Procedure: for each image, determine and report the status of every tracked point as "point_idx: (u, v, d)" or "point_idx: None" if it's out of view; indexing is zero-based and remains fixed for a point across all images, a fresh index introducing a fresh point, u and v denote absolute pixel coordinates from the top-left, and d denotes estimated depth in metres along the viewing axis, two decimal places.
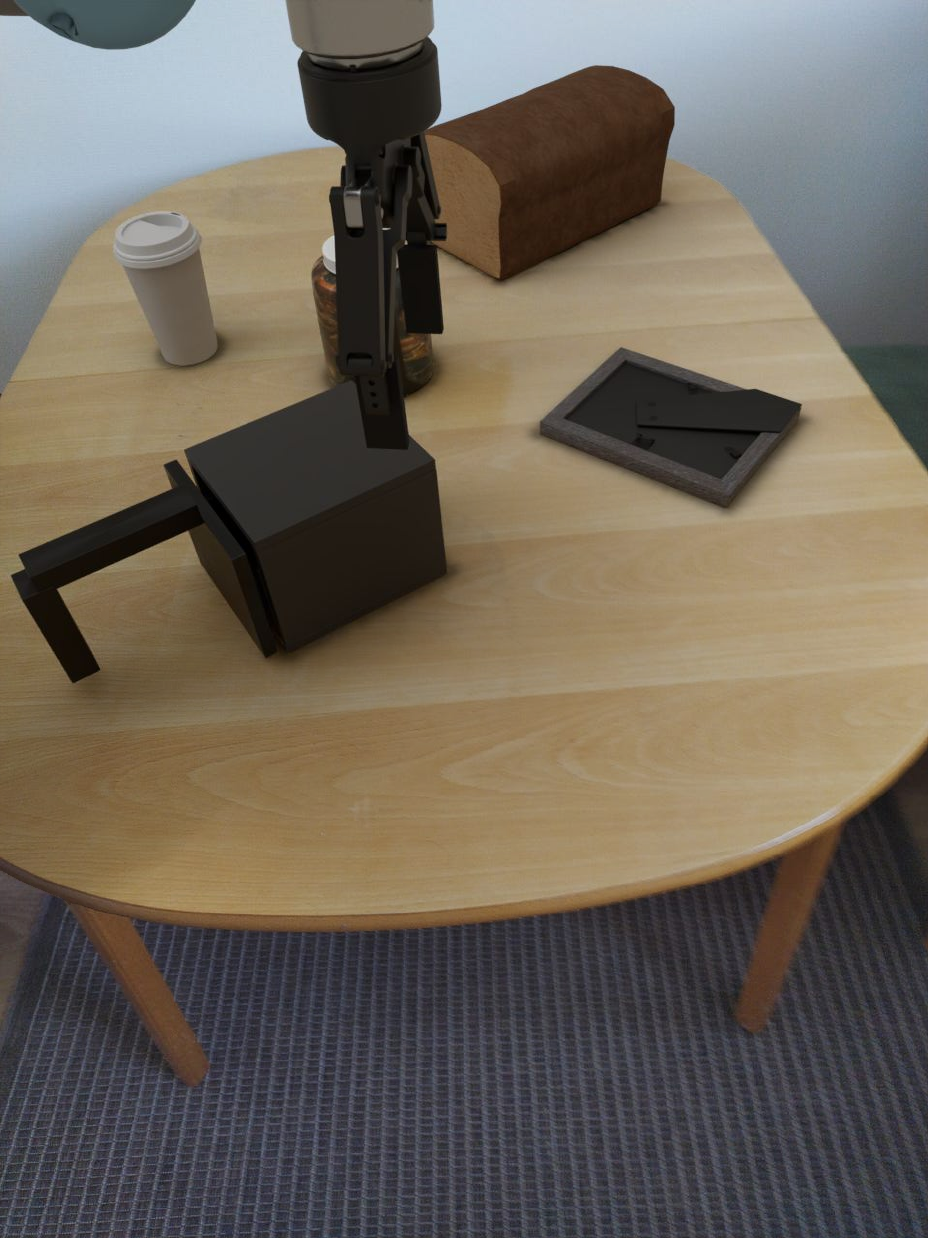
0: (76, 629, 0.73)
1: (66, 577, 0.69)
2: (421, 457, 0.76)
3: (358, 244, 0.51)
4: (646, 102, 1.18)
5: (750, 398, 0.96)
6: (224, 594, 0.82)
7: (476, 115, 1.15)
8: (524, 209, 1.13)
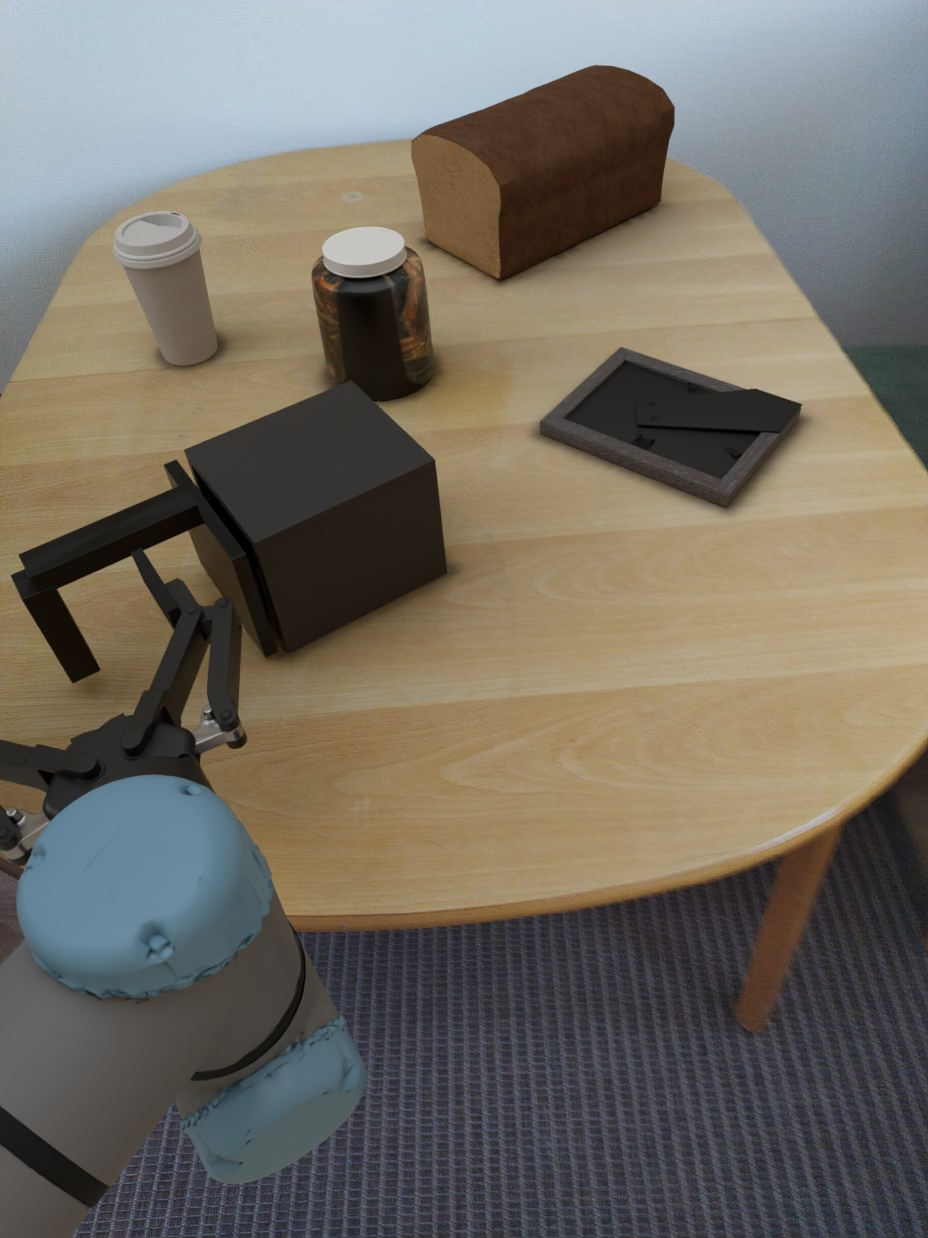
0: (76, 629, 0.73)
1: (66, 577, 0.69)
2: (421, 457, 0.76)
3: None
4: (646, 102, 1.18)
5: (750, 398, 0.96)
6: (224, 594, 0.82)
7: (476, 115, 1.15)
8: (524, 209, 1.13)
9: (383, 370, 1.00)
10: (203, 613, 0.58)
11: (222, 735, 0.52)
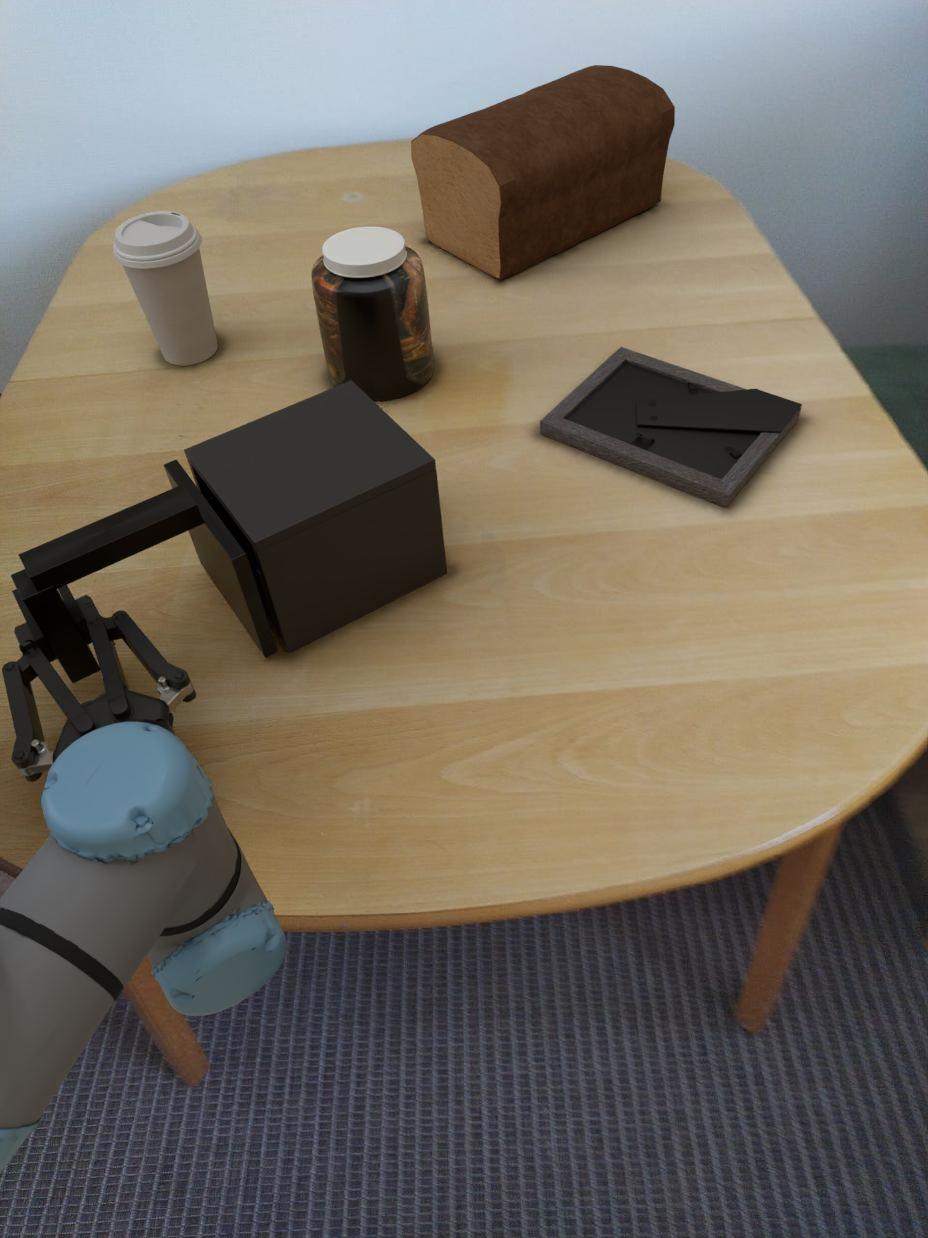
0: (76, 629, 0.73)
1: (66, 577, 0.69)
2: (421, 457, 0.76)
3: None
4: (646, 102, 1.18)
5: (750, 398, 0.96)
6: (224, 594, 0.82)
7: (476, 115, 1.15)
8: (524, 209, 1.13)
9: (383, 370, 1.00)
10: (103, 620, 0.74)
11: (182, 692, 0.69)
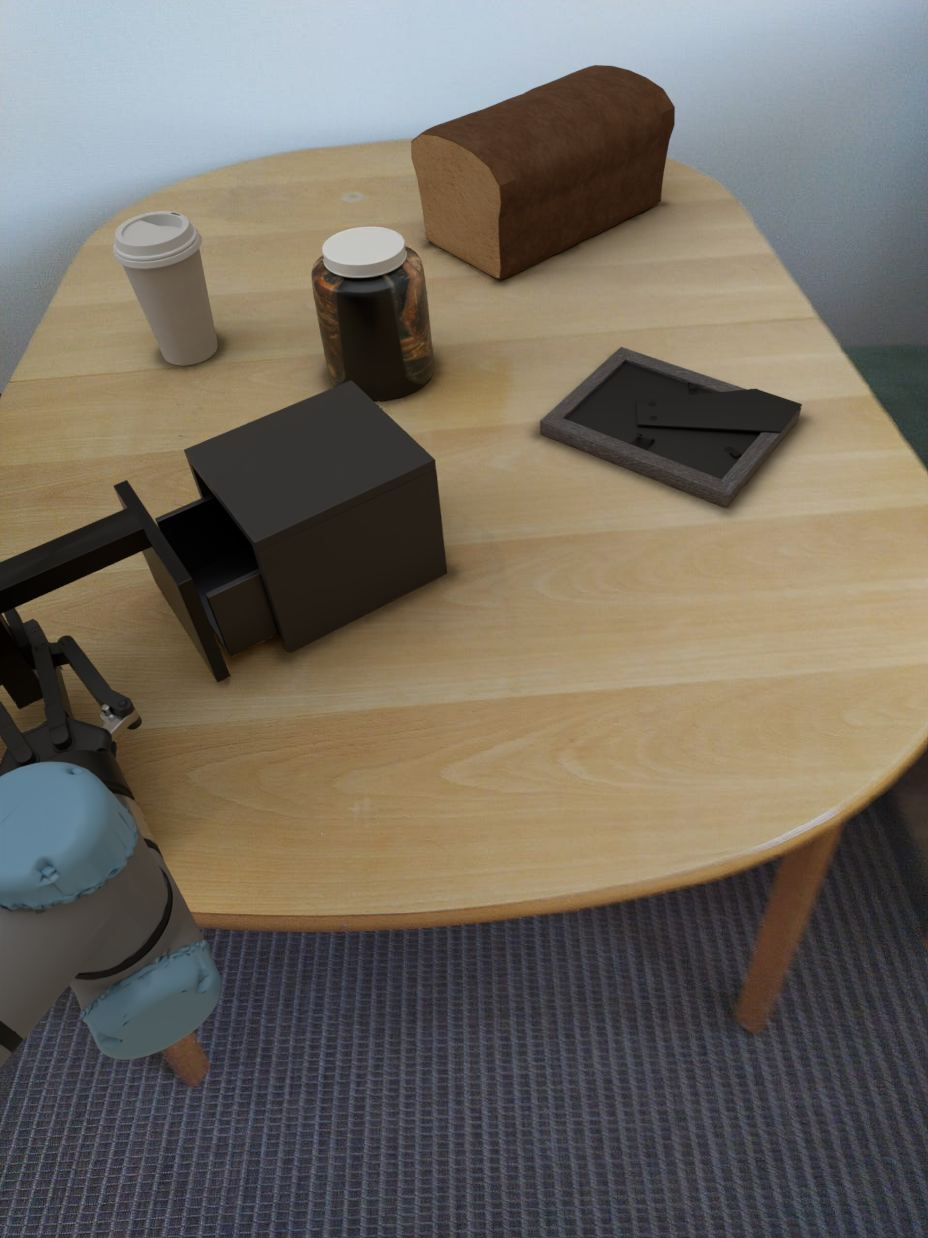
0: (20, 655, 0.71)
1: (8, 603, 0.68)
2: (421, 457, 0.76)
3: None
4: (646, 102, 1.18)
5: (750, 398, 0.96)
6: (178, 616, 0.81)
7: (476, 115, 1.15)
8: (524, 209, 1.13)
9: (383, 370, 1.00)
10: (48, 645, 0.72)
11: (125, 720, 0.68)
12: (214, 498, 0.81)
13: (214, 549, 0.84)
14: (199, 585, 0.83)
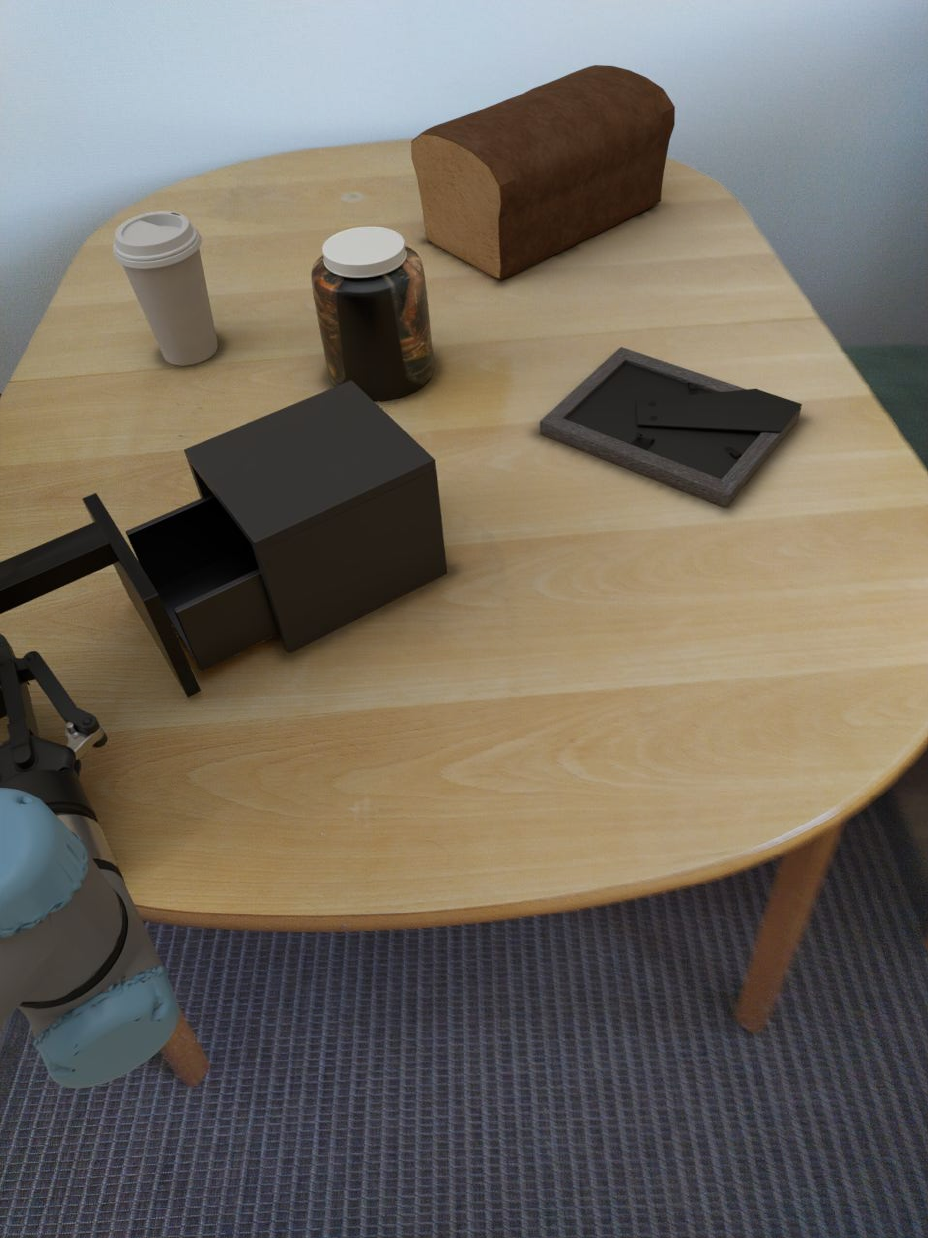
0: None
1: None
2: (421, 457, 0.76)
3: None
4: (646, 102, 1.18)
5: (750, 398, 0.96)
6: (149, 630, 0.80)
7: (476, 115, 1.15)
8: (524, 209, 1.13)
9: (383, 370, 1.00)
10: (14, 661, 0.71)
11: (90, 737, 0.67)
12: (186, 510, 0.80)
13: (186, 562, 0.83)
14: (171, 598, 0.82)
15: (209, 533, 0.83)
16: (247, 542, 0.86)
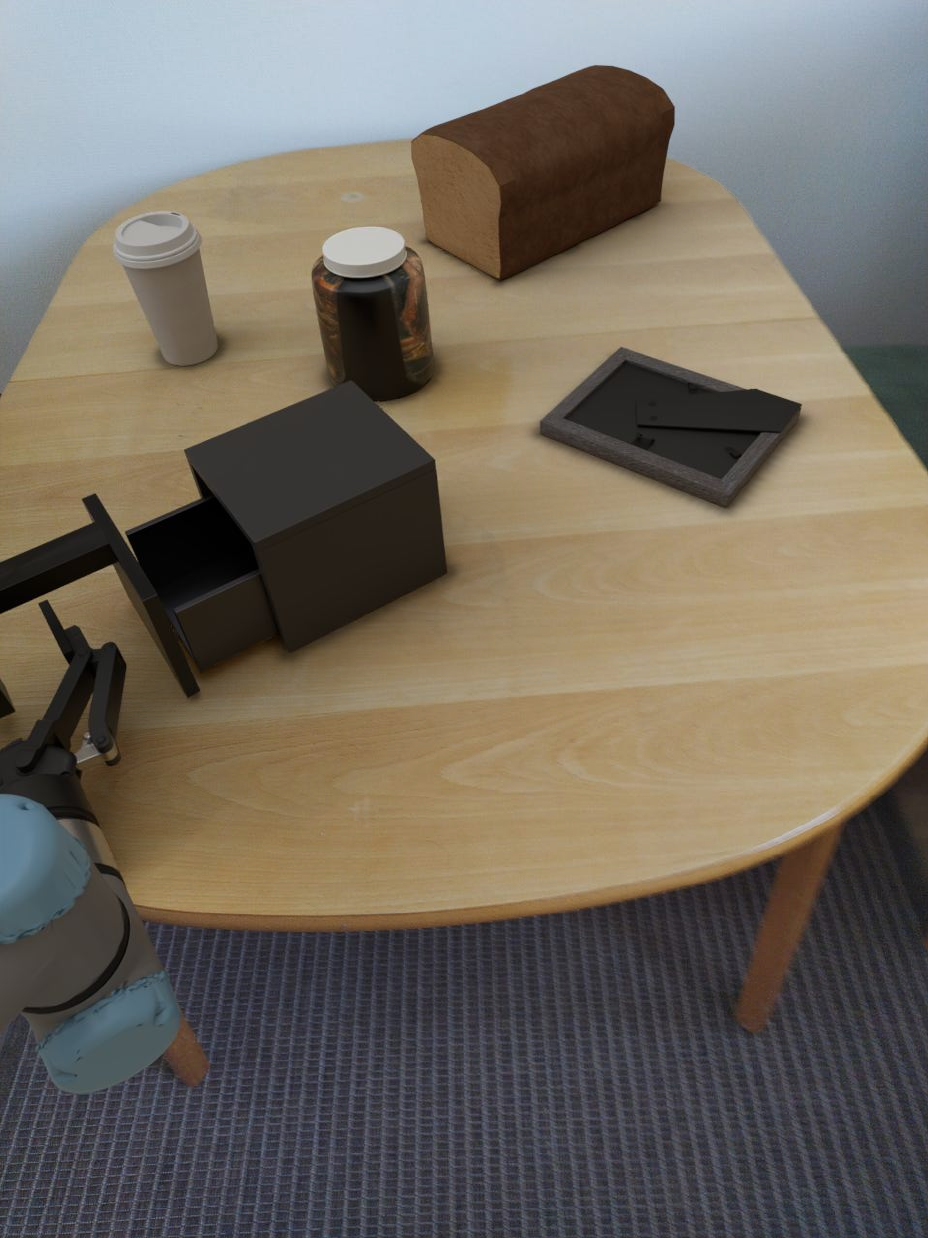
0: None
1: None
2: (421, 457, 0.76)
3: None
4: (646, 102, 1.18)
5: (750, 398, 0.96)
6: (148, 630, 0.80)
7: (476, 115, 1.15)
8: (524, 209, 1.13)
9: (383, 370, 1.00)
10: (92, 655, 0.72)
11: (98, 756, 0.66)
12: (185, 511, 0.80)
13: (186, 562, 0.83)
14: (171, 598, 0.82)
15: (208, 533, 0.83)
16: (246, 543, 0.86)
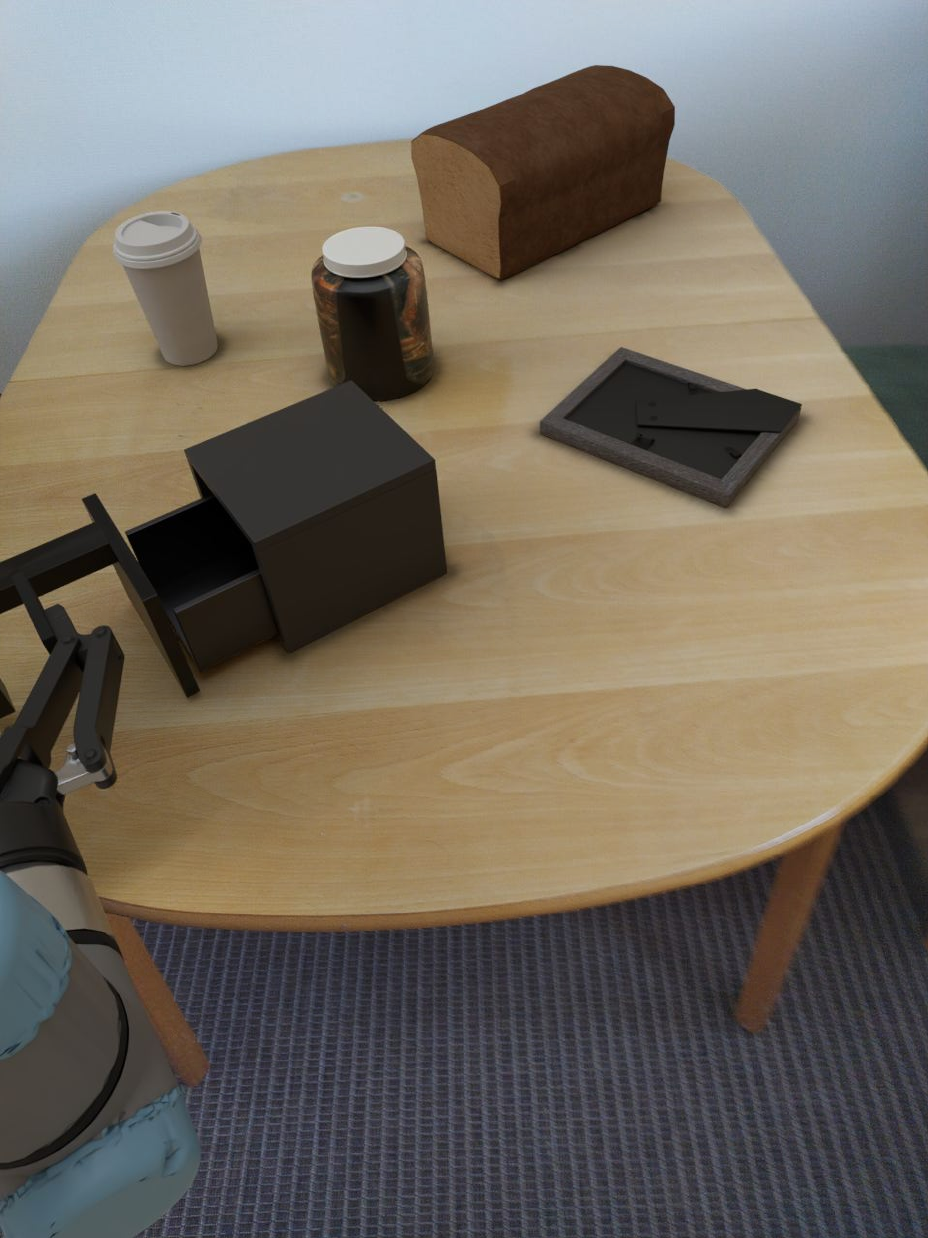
0: None
1: None
2: (421, 457, 0.76)
3: None
4: (646, 102, 1.18)
5: (750, 398, 0.96)
6: (148, 630, 0.80)
7: (476, 115, 1.15)
8: (524, 209, 1.13)
9: (383, 370, 1.00)
10: (80, 642, 0.55)
11: (87, 775, 0.50)
12: (185, 511, 0.80)
13: (186, 562, 0.83)
14: (171, 598, 0.82)
15: (208, 533, 0.83)
16: (246, 543, 0.86)
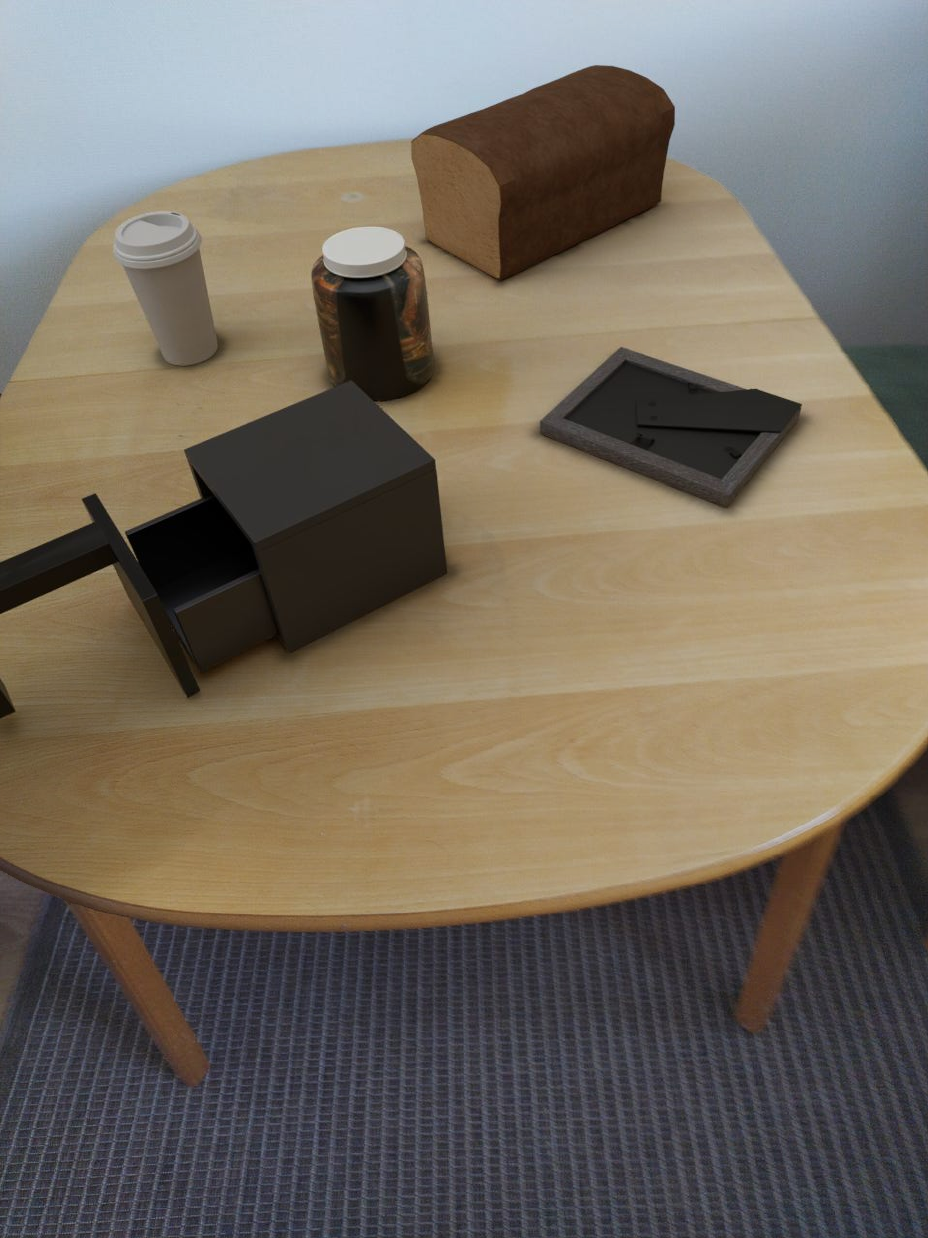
0: None
1: None
2: (421, 457, 0.76)
3: None
4: (646, 102, 1.18)
5: (750, 398, 0.96)
6: (148, 630, 0.80)
7: (476, 115, 1.15)
8: (524, 209, 1.13)
9: (383, 370, 1.00)
10: None
11: None
12: (185, 511, 0.80)
13: (186, 562, 0.83)
14: (171, 598, 0.82)
15: (208, 533, 0.83)
16: (246, 543, 0.86)
